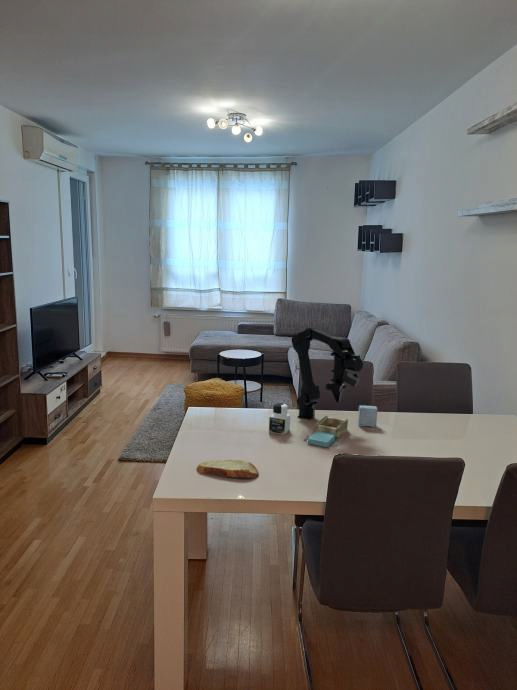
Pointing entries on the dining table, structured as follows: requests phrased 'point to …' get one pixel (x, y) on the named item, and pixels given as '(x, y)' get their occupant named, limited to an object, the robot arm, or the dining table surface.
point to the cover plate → (321, 438)
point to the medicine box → (367, 416)
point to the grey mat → (330, 444)
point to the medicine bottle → (279, 419)
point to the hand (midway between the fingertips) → (337, 402)
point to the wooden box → (332, 426)
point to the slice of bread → (229, 469)
